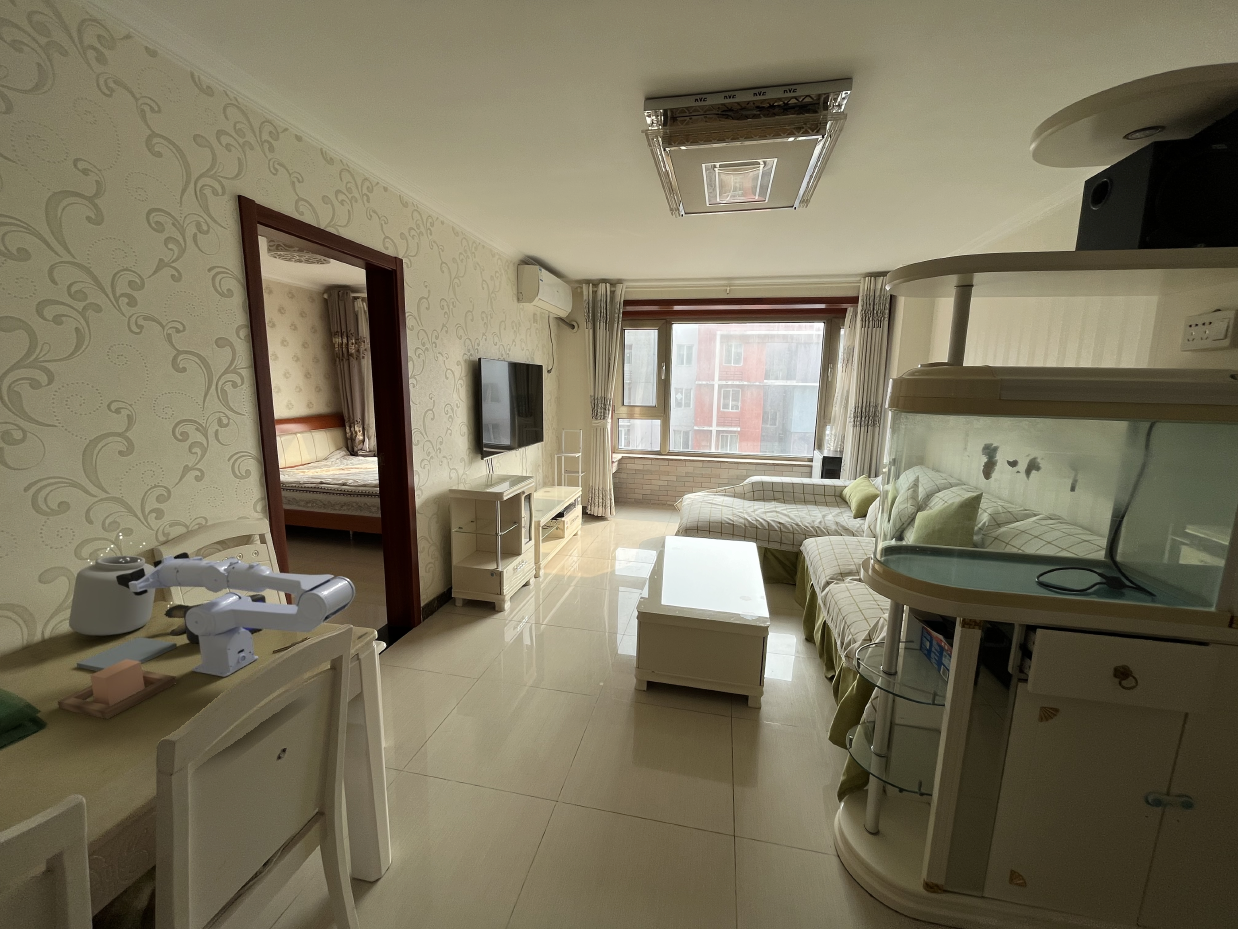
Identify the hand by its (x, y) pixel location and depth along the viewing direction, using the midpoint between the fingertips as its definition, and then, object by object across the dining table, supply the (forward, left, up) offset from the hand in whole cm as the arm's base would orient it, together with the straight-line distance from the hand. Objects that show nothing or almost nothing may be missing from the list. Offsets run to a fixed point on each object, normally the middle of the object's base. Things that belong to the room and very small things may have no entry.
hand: (137, 572), depth 113 cm
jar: (+21, -9, -21) cm, 31 cm away
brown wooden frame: (-11, +12, -21) cm, 26 cm away
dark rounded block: (-8, -13, -21) cm, 26 cm away
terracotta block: (-11, +12, -21) cm, 26 cm away
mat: (+4, +1, -21) cm, 21 cm away
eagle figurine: (+6, -13, -21) cm, 25 cm away
